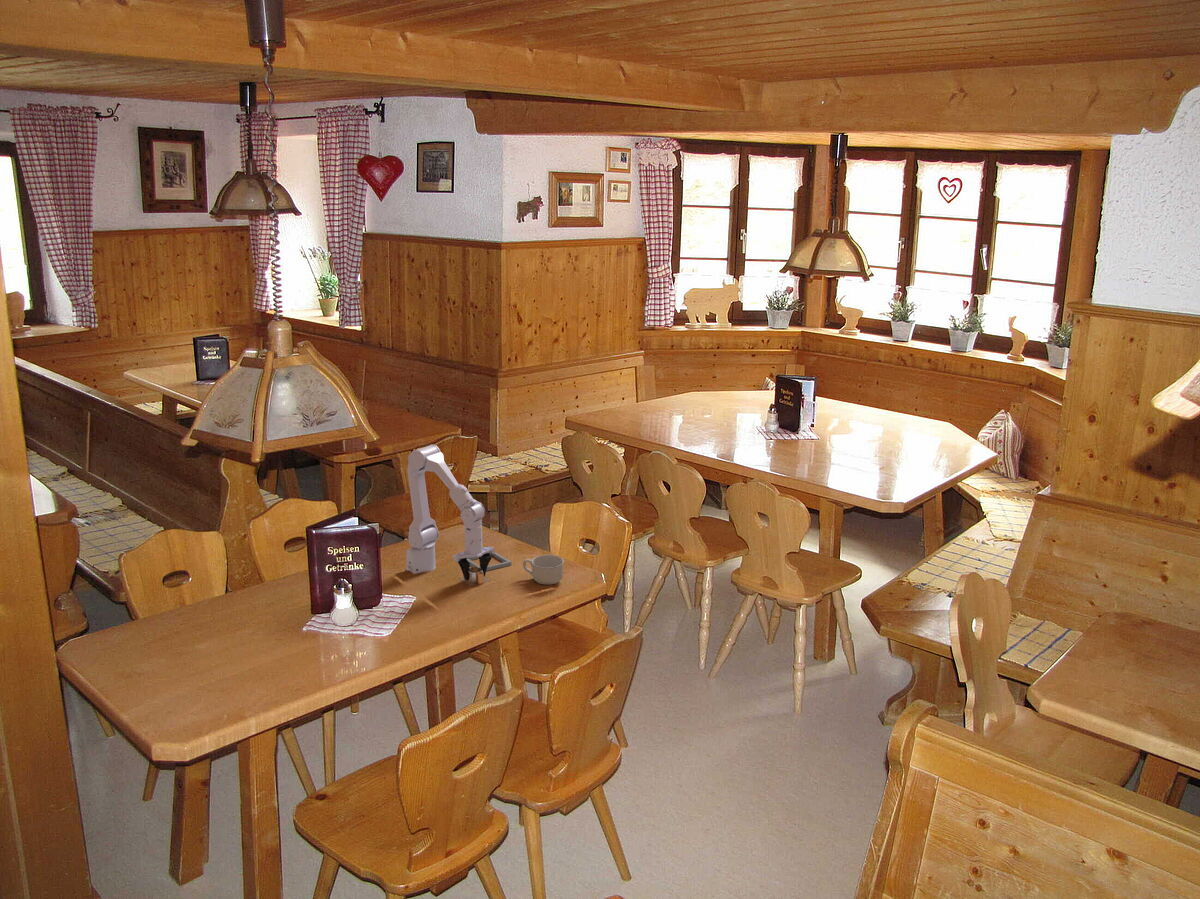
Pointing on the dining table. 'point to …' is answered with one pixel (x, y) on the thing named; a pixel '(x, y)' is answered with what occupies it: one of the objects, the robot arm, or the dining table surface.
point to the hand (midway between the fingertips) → (474, 577)
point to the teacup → (545, 569)
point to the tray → (495, 566)
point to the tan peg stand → (473, 569)
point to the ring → (476, 576)
